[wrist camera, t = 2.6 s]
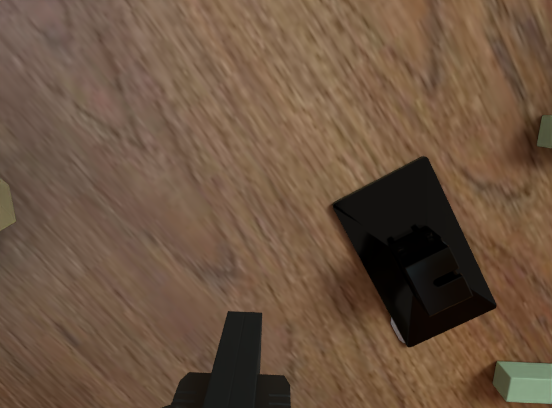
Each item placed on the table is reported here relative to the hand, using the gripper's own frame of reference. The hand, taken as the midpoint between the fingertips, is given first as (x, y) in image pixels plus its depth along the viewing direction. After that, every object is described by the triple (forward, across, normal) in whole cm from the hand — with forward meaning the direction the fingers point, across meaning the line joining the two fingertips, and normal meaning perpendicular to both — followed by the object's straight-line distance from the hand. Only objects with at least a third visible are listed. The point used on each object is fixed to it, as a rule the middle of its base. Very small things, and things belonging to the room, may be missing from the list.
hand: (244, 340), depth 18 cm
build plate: (+12, +11, 0) cm, 16 cm away
